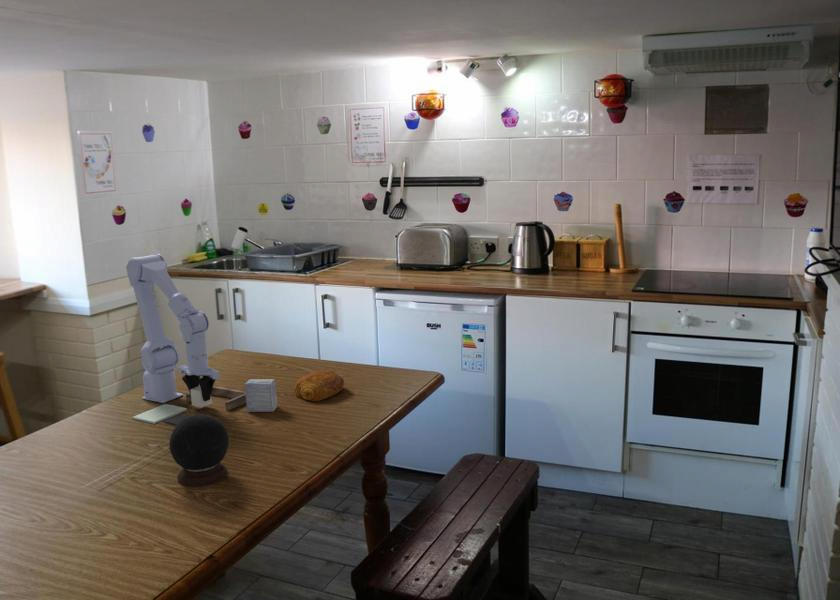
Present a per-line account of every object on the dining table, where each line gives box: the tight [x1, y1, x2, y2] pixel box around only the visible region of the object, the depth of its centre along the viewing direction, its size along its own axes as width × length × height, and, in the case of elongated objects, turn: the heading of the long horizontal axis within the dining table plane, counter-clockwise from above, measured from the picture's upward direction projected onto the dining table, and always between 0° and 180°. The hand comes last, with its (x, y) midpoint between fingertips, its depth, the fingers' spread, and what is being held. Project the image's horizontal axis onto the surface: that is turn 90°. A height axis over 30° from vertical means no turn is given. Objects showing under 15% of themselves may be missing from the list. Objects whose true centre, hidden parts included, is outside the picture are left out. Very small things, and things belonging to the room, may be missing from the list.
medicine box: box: [244, 378, 278, 413], centre depth 218 cm, size 8×4×9 cm, turn 84°
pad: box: [131, 403, 188, 425], centre depth 217 cm, size 9×12×1 cm
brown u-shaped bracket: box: [185, 385, 246, 412], centre depth 227 cm, size 17×10×2 cm, turn 60°
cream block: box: [189, 385, 213, 408], centre depth 221 cm, size 4×4×5 cm
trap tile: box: [163, 413, 189, 426], centre depth 212 cm, size 6×6×1 cm
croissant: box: [293, 369, 345, 402], centre depth 231 cm, size 14×16×8 cm
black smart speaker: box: [169, 413, 230, 488], centre depth 174 cm, size 13×13×15 cm
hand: (201, 399), depth 221 cm, fingers closed on cream block, 4 cm apart
